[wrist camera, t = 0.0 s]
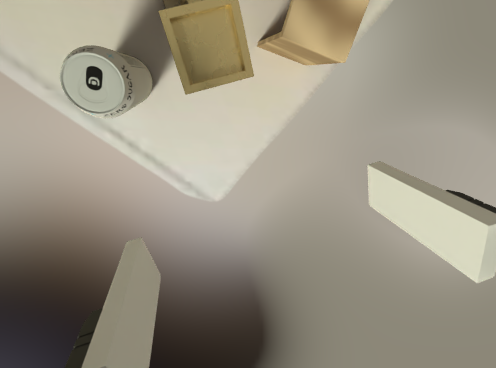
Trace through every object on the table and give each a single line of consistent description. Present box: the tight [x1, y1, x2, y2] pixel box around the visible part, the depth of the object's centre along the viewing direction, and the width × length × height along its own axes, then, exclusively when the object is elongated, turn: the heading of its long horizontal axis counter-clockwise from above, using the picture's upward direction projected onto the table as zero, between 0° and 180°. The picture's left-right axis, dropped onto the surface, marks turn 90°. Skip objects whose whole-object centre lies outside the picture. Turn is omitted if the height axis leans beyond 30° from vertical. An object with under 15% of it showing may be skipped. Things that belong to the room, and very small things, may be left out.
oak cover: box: [257, 0, 369, 65], centre depth 32 cm, size 9×8×11 cm
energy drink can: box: [60, 46, 152, 118], centre depth 28 cm, size 6×6×15 cm
